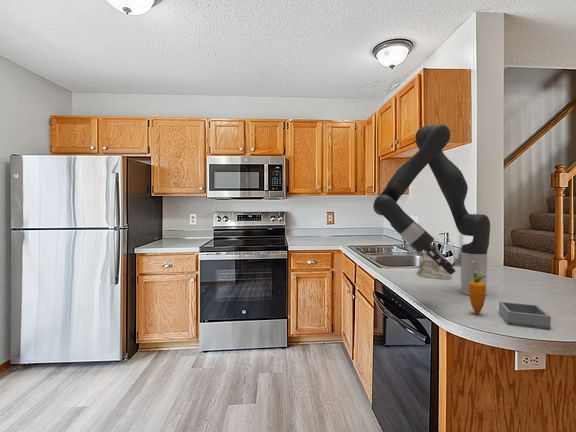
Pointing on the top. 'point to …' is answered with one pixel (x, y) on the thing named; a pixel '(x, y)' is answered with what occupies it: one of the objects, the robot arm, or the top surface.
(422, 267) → the ceramic cottage
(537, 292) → the top surface
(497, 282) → the top surface
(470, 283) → the carrot
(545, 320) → the bin
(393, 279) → the top surface
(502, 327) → the top surface
